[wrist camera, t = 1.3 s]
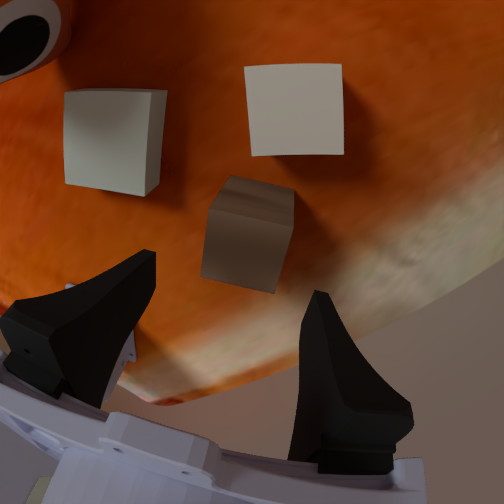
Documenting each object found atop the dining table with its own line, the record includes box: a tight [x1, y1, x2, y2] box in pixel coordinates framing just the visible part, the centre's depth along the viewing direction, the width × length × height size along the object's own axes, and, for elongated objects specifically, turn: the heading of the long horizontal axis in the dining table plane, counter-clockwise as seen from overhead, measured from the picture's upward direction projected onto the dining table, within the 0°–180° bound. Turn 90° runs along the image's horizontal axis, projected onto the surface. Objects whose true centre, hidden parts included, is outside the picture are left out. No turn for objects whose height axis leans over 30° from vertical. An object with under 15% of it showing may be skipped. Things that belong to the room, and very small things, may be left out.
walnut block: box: [200, 175, 294, 294], centre depth 20 cm, size 4×4×6 cm
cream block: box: [244, 64, 344, 156], centre depth 17 cm, size 5×5×4 cm
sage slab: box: [64, 88, 168, 197], centre depth 19 cm, size 7×7×3 cm
